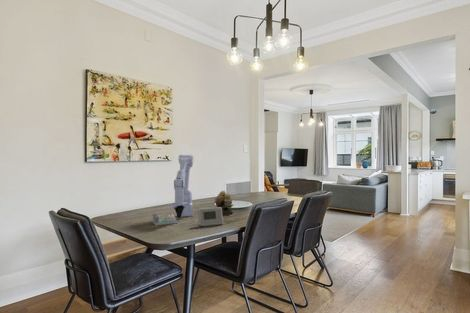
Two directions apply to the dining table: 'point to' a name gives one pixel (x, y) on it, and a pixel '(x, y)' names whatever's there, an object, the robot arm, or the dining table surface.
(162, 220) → the gauge bench
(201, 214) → the digital clock
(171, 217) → the gauge sled
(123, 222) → the dining table surface
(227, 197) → the brown bushy plant
